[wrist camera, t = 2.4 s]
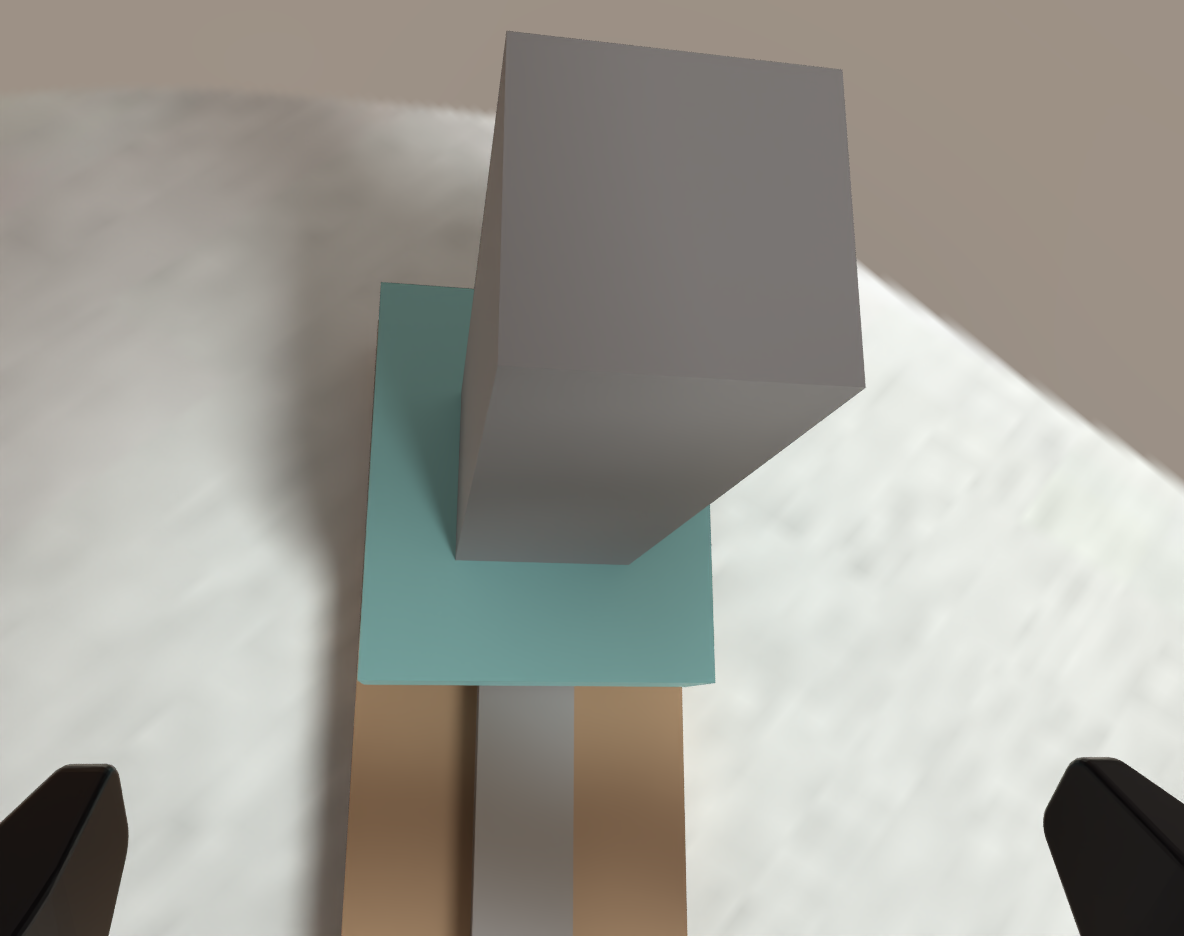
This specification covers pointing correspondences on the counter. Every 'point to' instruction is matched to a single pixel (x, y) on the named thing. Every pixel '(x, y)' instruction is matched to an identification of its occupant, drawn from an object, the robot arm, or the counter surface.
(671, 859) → the rail
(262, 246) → the counter surface
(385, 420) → the carriage
